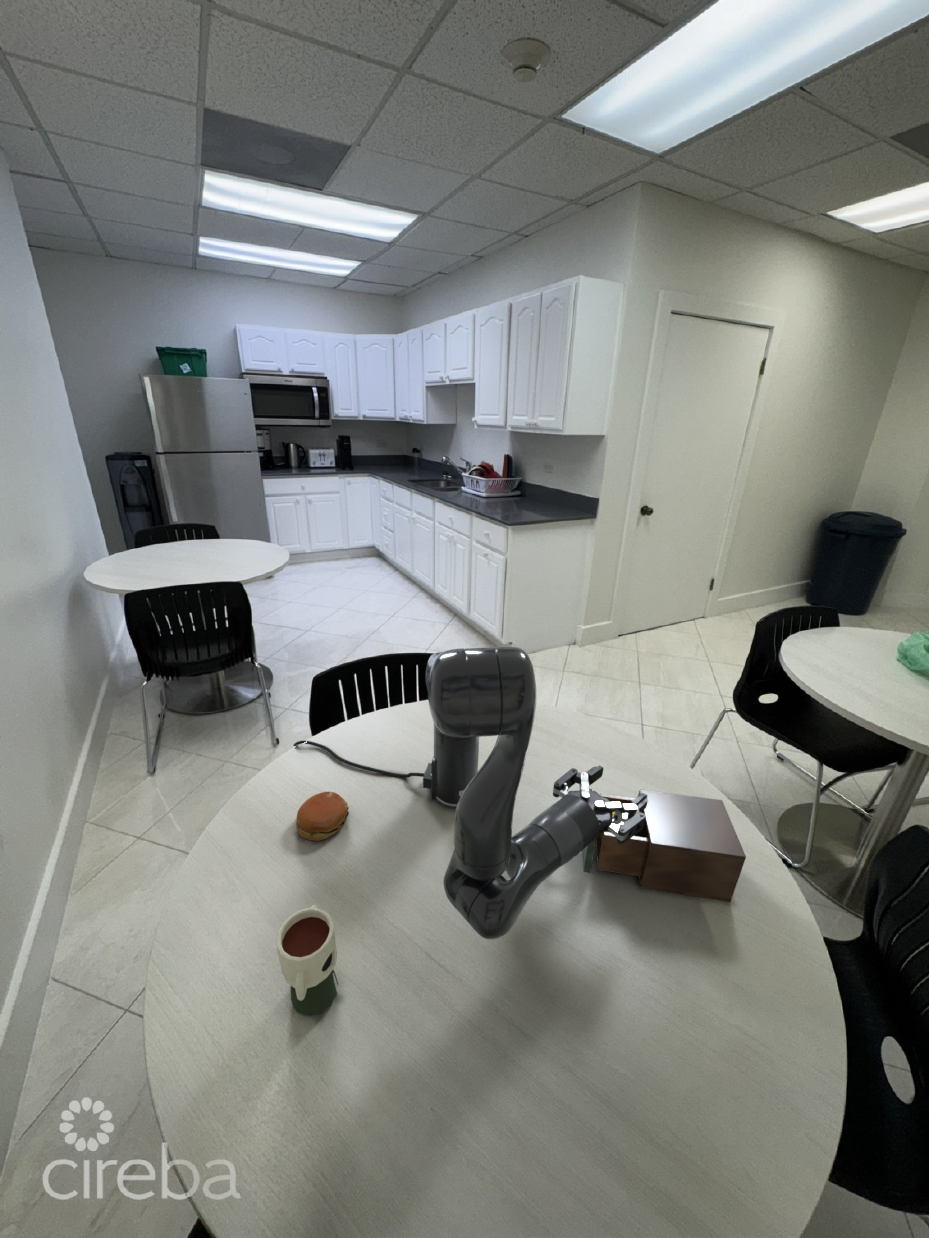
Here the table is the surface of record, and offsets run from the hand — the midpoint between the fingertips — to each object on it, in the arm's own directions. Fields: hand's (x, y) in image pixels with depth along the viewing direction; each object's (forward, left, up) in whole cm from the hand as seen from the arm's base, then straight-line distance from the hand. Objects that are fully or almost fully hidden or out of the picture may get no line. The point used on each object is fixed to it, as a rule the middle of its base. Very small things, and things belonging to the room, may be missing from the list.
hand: (622, 783), depth 84 cm
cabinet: (+12, 0, -17) cm, 21 cm away
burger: (-55, -3, -17) cm, 58 cm away
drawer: (-1, 0, -16) cm, 16 cm away
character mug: (-43, -32, -17) cm, 56 cm away
